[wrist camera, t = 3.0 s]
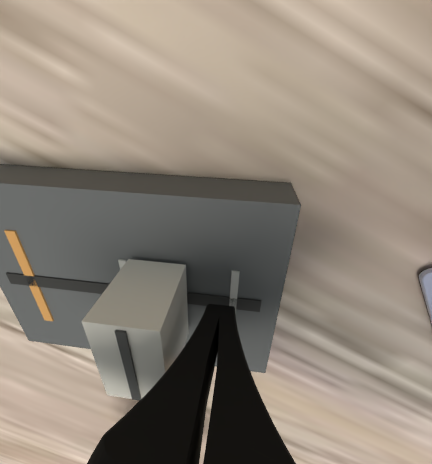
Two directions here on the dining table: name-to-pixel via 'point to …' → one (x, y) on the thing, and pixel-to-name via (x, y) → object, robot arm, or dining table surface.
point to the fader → (138, 326)
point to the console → (143, 246)
